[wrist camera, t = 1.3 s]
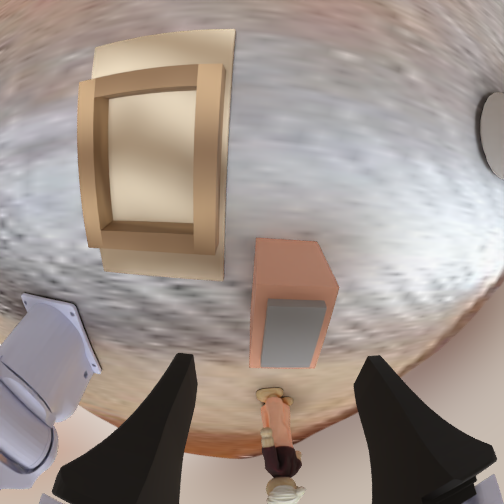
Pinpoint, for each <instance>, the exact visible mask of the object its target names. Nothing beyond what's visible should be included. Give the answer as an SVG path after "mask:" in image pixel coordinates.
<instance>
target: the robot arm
mask: <svg viewBox="0 0 504 504" xmlns="http://www.w3.org/2000/svg"><path fill="white" fill-rule="evenodd" d="M21 298H22V301H23V303H24V306H25V308H26V310H27V314H26V315H25V316H24V317H23V319H22V320H21V321H20V322H19V323H18V324H17V326H16V327H15V328H14V329H13V331H12V332H11V333H10V334H9V335H8V337H7V338H6V339H5V340H4V342H3V343H2V344H1V346H0V490H1V489H29V488H31V487H32V485H33V484H34V482H35V480H36V479H37V478H38V477H39V476H40V475H41V474H42V473H43V472H44V471H46V470H47V469H48V468H49V467H50V466H51V465H52V463H53V462H54V460H55V458H56V455H57V452H58V434H57V431H56V429H55V427H54V426H53V425H54V423H55V422H62V421H64V420H66V419H68V418H69V417H70V416H71V415H72V414H73V413H74V412H75V410H76V408H77V406H78V404H79V402H80V400H81V398H82V396H83V393H84V391H85V389H86V387H87V385H88V383H89V381H90V379H91V377H92V375H93V373H97V374H100V373H101V371H102V370H101V368H100V366H99V363H98V361H97V359H96V357H95V355H94V352H93V350H92V348H91V345H90V343H89V340H88V338H87V336H86V333H85V330H84V328H83V325H82V322H81V320H80V317H79V314H78V311H77V308H76V306H75V305H74V304H72V303H67V302H62V301H57V300H52V299H48V298H43V297H39V296H35V295H30V294H26V293H23V294H22V295H21ZM197 385H198V384H197V377H196V370H195V363H194V356H193V354H184V353H178V354H176V356H175V357H174V359H173V361H172V362H171V364H170V366H169V367H168V369H167V370H166V372H165V373H164V375H163V376H162V378H161V379H160V380H159V382H158V383H157V384H156V386H155V387H154V389H153V390H152V391H151V393H150V394H149V395H148V396H147V398H146V399H145V400H144V401H143V402H142V404H141V405H140V406H139V407H138V408H137V409H136V411H135V412H134V413H133V414H132V415H131V416H130V417H129V418H128V419H127V420H126V421H125V422H124V423H123V424H122V425H121V426H120V427H119V428H118V429H117V430H115V431H114V432H113V433H112V434H111V435H110V436H108V437H107V438H106V439H105V440H103V441H102V442H101V443H100V444H98V445H97V446H95V447H94V448H92V449H91V450H90V451H88V452H87V453H85V454H84V455H82V456H80V457H79V458H77V459H75V460H73V461H71V462H70V463H68V464H66V465H64V466H62V467H61V468H60V471H59V473H58V475H57V477H56V480H55V483H54V487H53V489H52V493H53V494H54V495H55V496H57V497H59V498H61V499H63V500H65V501H66V502H68V503H70V504H179V494H180V482H181V471H182V461H183V455H184V449H185V445H186V441H187V437H188V432H189V428H190V424H191V420H192V416H193V412H194V408H195V401H196V393H197ZM354 392H355V399H356V405H357V409H358V412H359V416H360V419H361V423H362V426H363V430H364V433H365V437H366V441H367V444H368V449H369V455H370V463H371V474H372V504H503V500H502V497H501V493H500V490H499V486H498V483H497V480H496V477H495V475H494V474H493V475H491V476H490V477H488V478H487V479H485V480H484V481H482V482H481V483H479V484H478V485H476V486H474V484H473V483H474V482H476V481H477V479H476V475H477V474H479V473H480V472H482V471H483V470H484V469H486V468H488V467H489V466H490V465H492V464H493V463H494V462H496V460H497V457H496V455H495V452H494V450H493V447H492V445H489V444H487V443H484V442H482V441H480V440H477V439H475V438H473V437H471V436H469V435H467V434H465V433H464V432H462V431H460V430H458V429H457V428H455V427H454V426H452V425H451V424H449V423H448V422H446V421H445V420H443V419H442V418H441V417H440V416H439V415H438V414H436V413H435V412H434V411H433V410H431V409H430V408H429V407H428V406H427V405H426V404H425V403H424V402H423V401H422V400H421V399H420V398H419V397H418V396H417V395H416V394H415V393H414V392H413V391H412V390H411V389H410V388H409V387H408V386H407V385H406V384H405V383H404V382H403V380H401V378H400V377H399V376H398V375H397V374H396V373H395V371H394V370H393V369H392V368H391V367H390V366H389V365H388V364H387V362H386V361H385V360H384V359H383V358H382V357H381V356H380V355H377V356H368V357H367V359H366V361H365V363H364V365H363V367H362V369H361V371H360V373H359V375H358V377H357V379H356V381H355V383H354ZM39 504H63V503H61V502H59V501H57V500H55V499H54V498H52V497H50V496H48V495H46V494H42V496H41V499H40V502H39Z"/></svg>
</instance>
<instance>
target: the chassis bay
mask: <svg viewBox="0 0 504 504" xmlns="http://www.w3.org/2000/svg"><path fill="white" fill-rule="evenodd" d="M235 35H236V31H235V29H208V30H191V31H180V32H171V33H163V34H156V35H149V36H143V37H138V38H133V39H128V40H123V41H119V42H115V43H111V44H107V45H103V46H99V47H96V48H95V54H94V61H93V70H92V79H90V80H86V81H83V82H79V93H78V114H77V147H78V168H79V182H80V192H81V201H82V209H83V217H84V224H85V230H86V236H87V242H88V247H89V248H100V252H101V257H102V262H103V267H104V271H106V272H116V273H126V274H137V275H148V276H159V277H171V278H184V279H197V280H211V281H223V279H224V243H225V206H226V178H227V155H228V135H229V117H230V101H231V86H232V72H233V59H234V47H235Z"/></svg>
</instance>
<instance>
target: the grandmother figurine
mask: <svg viewBox="0 0 504 504" xmlns="http://www.w3.org/2000/svg"><path fill="white" fill-rule="evenodd" d="M282 395H283V390H282V389H281V388H268V389H261V390H258V391H257V392H256V396H257V398H258V400H259V401H261V402H265V405H264V406H262V407H261V416H262V421H263V427H264V428H262V429H261V431H260V434H261V436H262V440H261V441H262V453H263V456H264V460H265V468H266V470H267V471H268V472H269V473H270V474H271V475H272V476H273V477H274V478H273V479H272V480H270V481H269V482H268V484H267V487H266V491H267V494H268V498H267V500H266V501H267V504H297V503H298V502H299V500H300V499H301V497H302V496H303V495H304V493H305V491H306V489H305V488H304V487H302V486H301V487H298V486H296V484H295V482H294V480H292V479H291V477H292V476H294V475H295V474H296V473H297V472H298V470H299V469H300V468H301V466H302V463H301V452H299V451H295V449H294V448H293V444H292V439H291V430H290V408H289V406H290V405H292V403H293V399H292V398H290V397H283V398H281V397H282Z"/></svg>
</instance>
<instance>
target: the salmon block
mask: <svg viewBox="0 0 504 504" xmlns="http://www.w3.org/2000/svg"><path fill="white" fill-rule="evenodd" d="M338 290H339V286H338V284H337V281H336V279H335V277H334V275H333V273H332V271H331V269H330V267H329V265H328V263H327V261H326V259H325V257H324V255H323V253H322V251H321V249H320V247H319V245H318V243H317V242H315V241H300V240H285V239H269V238H256V245H255V258H254V272H253V285H252V299H251V312H250V356H249V368H283V369H299V368H315V366H316V363H317V360H318V357H319V354H320V351H321V348H322V345H323V342H324V339H325V336H326V332H327V329H328V326H329V322H330V319H331V315H332V312H333V308H334V305H335V301H336V298H337V294H338Z"/></svg>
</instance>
